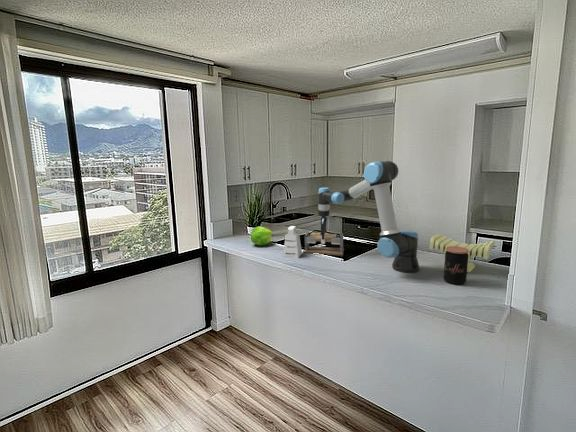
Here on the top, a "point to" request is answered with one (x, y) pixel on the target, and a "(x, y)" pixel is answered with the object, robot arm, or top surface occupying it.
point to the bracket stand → (324, 249)
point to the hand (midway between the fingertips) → (323, 242)
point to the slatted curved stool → (474, 249)
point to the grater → (292, 243)
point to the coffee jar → (456, 265)
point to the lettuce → (261, 236)
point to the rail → (327, 236)
